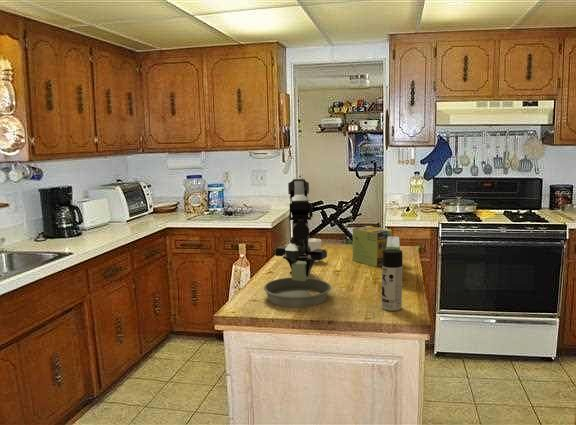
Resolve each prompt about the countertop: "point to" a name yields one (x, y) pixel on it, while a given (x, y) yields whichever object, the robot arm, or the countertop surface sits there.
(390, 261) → the spray can
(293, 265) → the olive block
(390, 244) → the snack box
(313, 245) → the white cup
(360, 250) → the protein box
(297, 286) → the cake pan
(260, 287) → the countertop surface
